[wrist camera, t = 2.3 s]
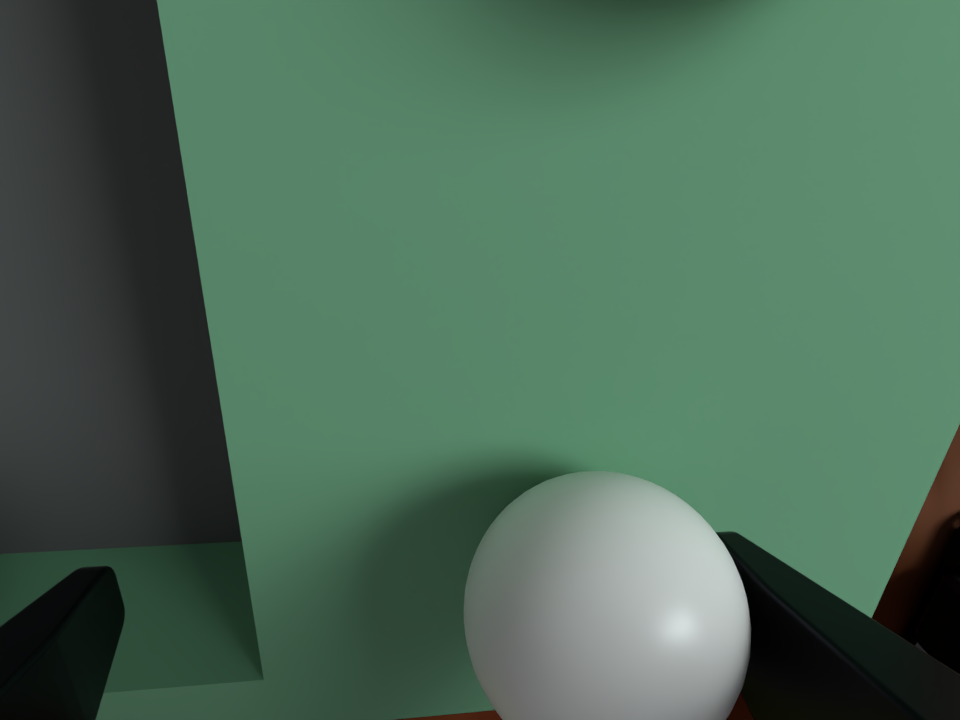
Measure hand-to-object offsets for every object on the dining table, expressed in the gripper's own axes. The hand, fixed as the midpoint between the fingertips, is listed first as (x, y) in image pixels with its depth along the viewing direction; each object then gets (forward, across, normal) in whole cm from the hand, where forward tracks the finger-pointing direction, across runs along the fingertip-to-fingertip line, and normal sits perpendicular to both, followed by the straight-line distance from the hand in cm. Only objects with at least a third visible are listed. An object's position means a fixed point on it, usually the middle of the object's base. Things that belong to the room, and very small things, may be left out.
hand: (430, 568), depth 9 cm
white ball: (-1, -2, 0) cm, 3 cm away
